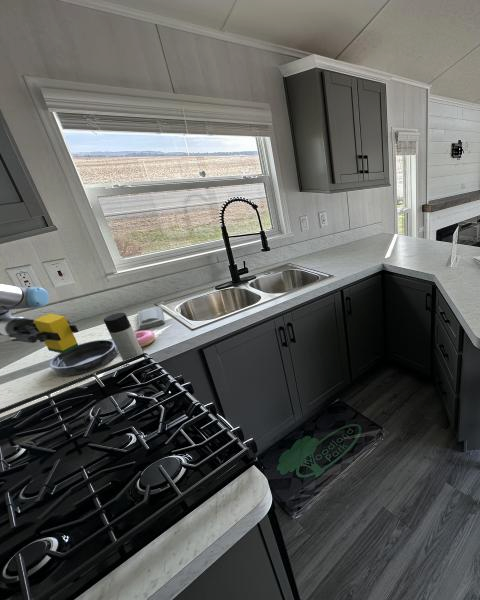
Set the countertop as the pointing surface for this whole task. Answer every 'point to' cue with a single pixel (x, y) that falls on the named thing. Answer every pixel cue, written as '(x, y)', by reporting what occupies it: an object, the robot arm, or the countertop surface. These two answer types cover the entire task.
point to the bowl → (84, 358)
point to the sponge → (57, 326)
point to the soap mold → (150, 317)
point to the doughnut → (145, 337)
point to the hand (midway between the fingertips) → (67, 332)
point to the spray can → (123, 335)
